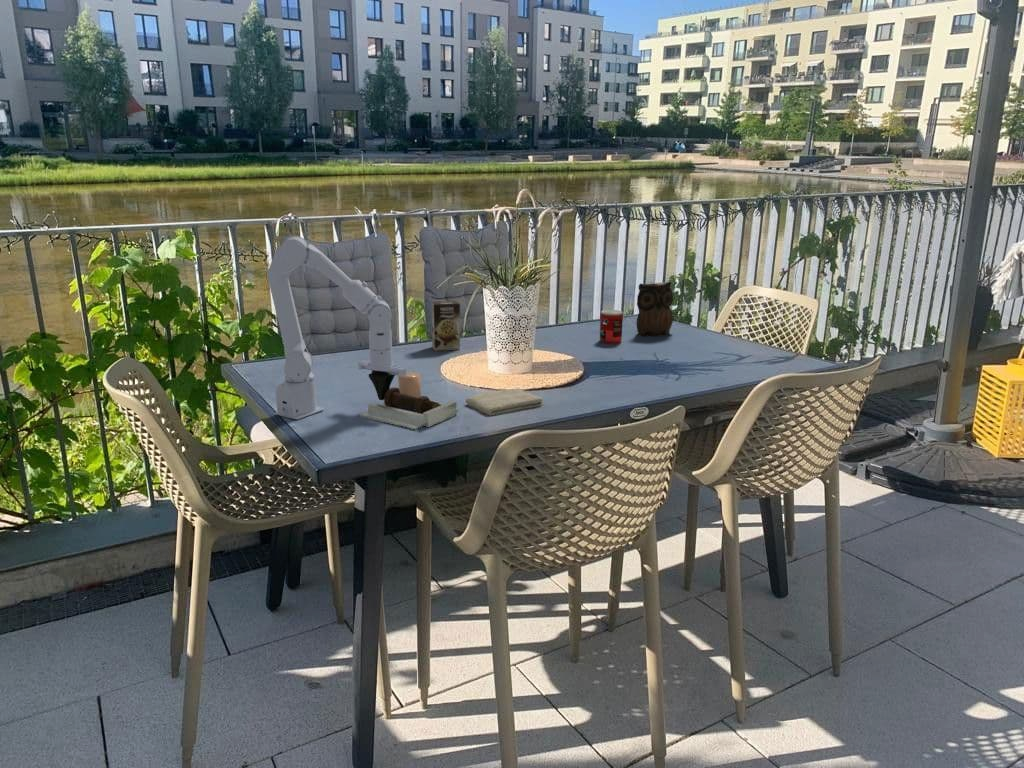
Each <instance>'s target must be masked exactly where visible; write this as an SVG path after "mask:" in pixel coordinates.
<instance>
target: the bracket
mask: <svg viewBox="0 0 1024 768" xmlns="http://www.w3.org/2000/svg"><path fill="white" fill-rule="evenodd" d="M429 400H430V401H433V402H437V403H439V405H440V406H439V407H436V408H434V409H431V410H429V411H427V412H424V413H423V414H420V413H416V411H415V412H414V411H410V410H406V409H401V408H398V407H395V408H393V407H388V406H386V405H385V404H384V405H383V404H378V403H375V402H371V403H368V404H367V411H366V412H363V413H360V414H359V417H360V418H363V419H367V418H368V420H372V421H377V422H380V423H384V422H385V423H384V424H388V423H389V425H392V424H394V425H393V426H397V425H398V426H397V427H401V426H403V427H402V428H405V427H407V428H406V429H409V428H411V429H410V430H413V429H415V430H414V431H417V430H419V429H421V428H423V427H422V426H426V427H425V428H427V427H429V428H431V427H433V426H435V425H434V424H436V425H438V424H440V423H442V422H444V420H445V421H447V420H449V419H451V418H454V417H456V416H457V413H458V412H460V408H457V401H453V400H451V401H448V402H446V403H444V402H440V401H435V400H431V399H429ZM455 415H456V416H455ZM453 416H454V417H453ZM446 419H447V420H446ZM439 422H440V423H439ZM437 423H438V424H437ZM432 425H433V426H432ZM430 426H431V427H430ZM420 427H421V428H420ZM418 428H419V429H418ZM416 429H417V430H416Z"/></svg>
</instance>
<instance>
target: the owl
mask: <svg viewBox="0 0 1024 768" xmlns="http://www.w3.org/2000/svg"><path fill="white" fill-rule="evenodd" d="M671 285H672V281H667V282H666V281H665V282H650V283H639V285H638V294H637V299H636V302H637V303H636V306H637V308H638V315H637V317H636V330H637V335H638V336H639V335H641V336H640V337H648V336H651V337H660V336H659V335H664V336H667V335H668V333H669V334H670V330H671V328H672V325H673V322H674V320H675V319H674V317H673V315H674V312H673V311H672V309H671V305H672V304H673V302H674V296H673V295H674V292H673V290H672V288H671Z"/></svg>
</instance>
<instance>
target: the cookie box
mask: <svg viewBox="0 0 1024 768" xmlns="http://www.w3.org/2000/svg"><path fill="white" fill-rule="evenodd" d="M431 344H432V345H431V347H432V349H433V351H435V352H436V351H454V350H455V351H456V350H461V304H460V302H458V301H456V300H455V301H454V300H453V301H451V300H450V301H449V300H448V301H431Z"/></svg>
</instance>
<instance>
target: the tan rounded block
mask: <svg viewBox="0 0 1024 768" xmlns="http://www.w3.org/2000/svg"><path fill="white" fill-rule="evenodd" d="M397 381H398V388H399V391H400V393H401V394H404V395H408V396H412V397H417V398H419V397H420V396H422V391H421V389H422V388H421V373H418V372H410V371H409V372H408V371H407V372H406V376H402V377H397Z"/></svg>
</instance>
